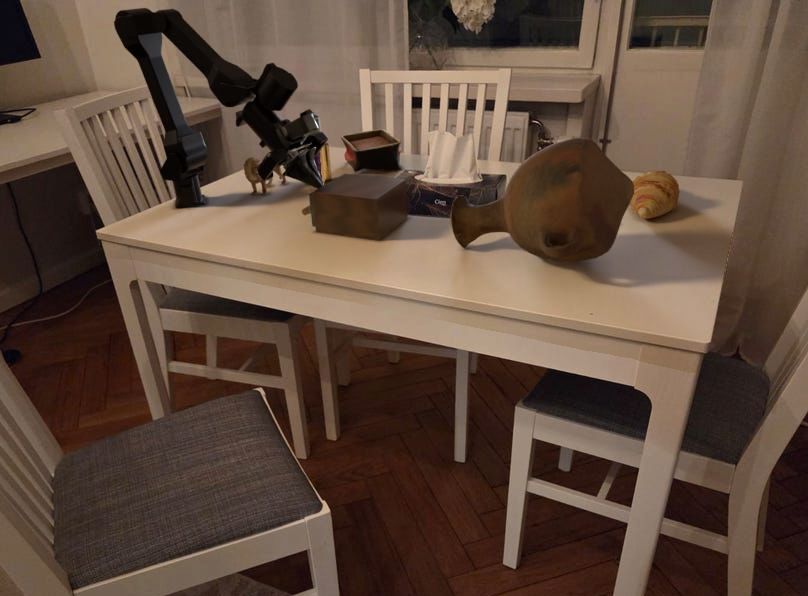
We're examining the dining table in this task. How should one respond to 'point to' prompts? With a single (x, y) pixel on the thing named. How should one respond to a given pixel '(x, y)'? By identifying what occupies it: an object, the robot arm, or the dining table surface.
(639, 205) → the croissant
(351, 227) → the cabinet
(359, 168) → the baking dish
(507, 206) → the jug
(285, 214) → the dining table surface
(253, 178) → the lion figurine
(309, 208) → the drawer
